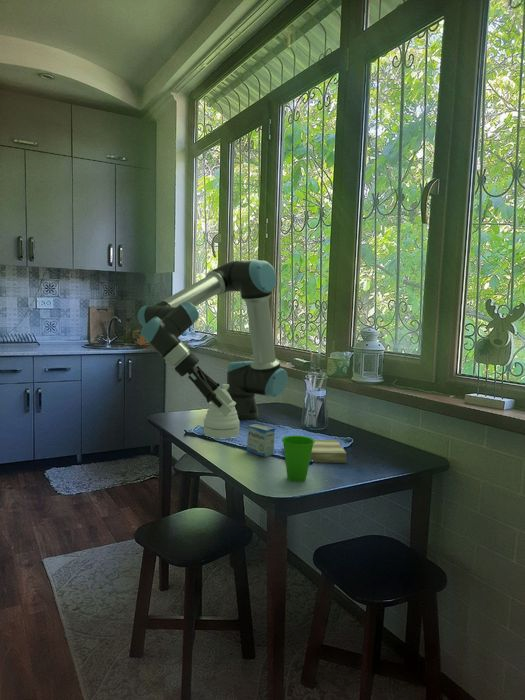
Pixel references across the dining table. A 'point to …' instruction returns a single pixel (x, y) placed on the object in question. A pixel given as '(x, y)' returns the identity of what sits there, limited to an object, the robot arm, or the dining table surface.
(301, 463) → the cup
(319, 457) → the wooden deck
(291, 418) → the dining table surface
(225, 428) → the honey pot
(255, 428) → the medicine box
